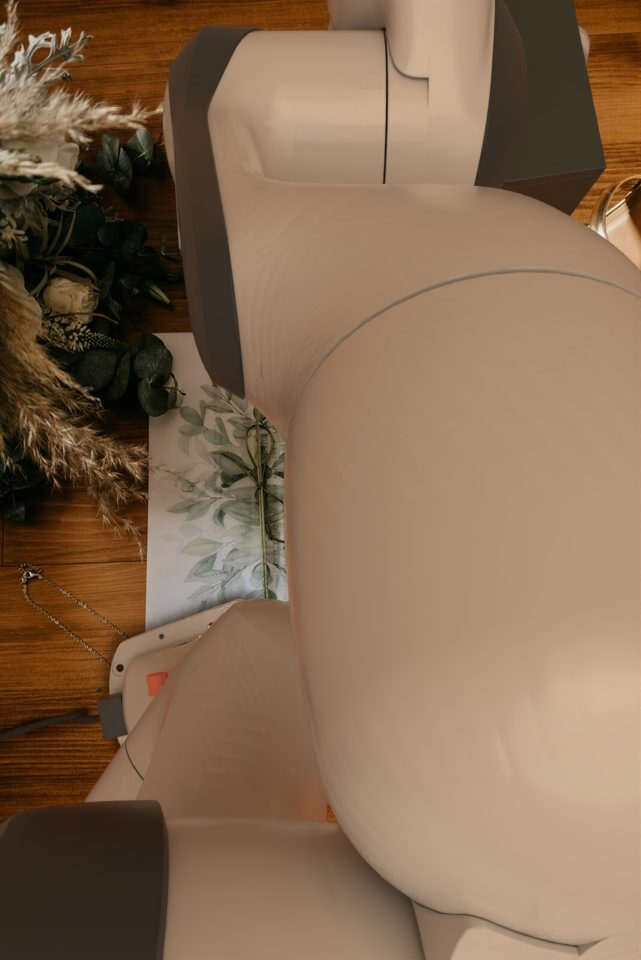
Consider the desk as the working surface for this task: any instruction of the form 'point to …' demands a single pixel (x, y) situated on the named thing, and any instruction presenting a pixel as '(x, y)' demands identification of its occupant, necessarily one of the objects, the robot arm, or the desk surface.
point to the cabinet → (555, 109)
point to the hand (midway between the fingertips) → (377, 182)
